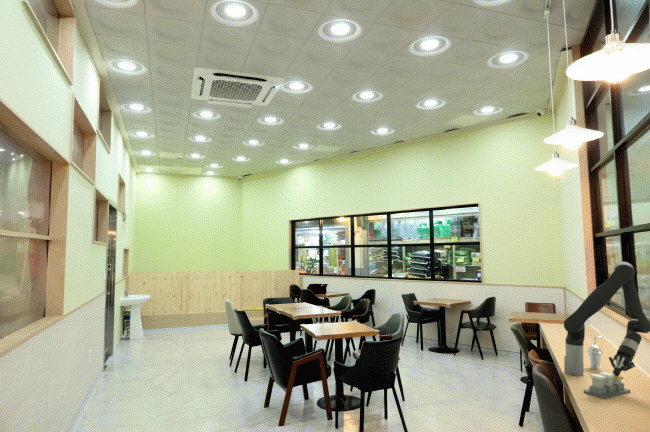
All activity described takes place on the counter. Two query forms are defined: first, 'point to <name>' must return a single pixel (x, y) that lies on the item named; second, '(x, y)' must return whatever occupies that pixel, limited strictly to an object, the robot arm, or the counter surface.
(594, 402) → the counter surface
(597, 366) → the cup with straw
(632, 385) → the counter surface
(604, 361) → the counter surface
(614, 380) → the amber key
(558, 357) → the counter surface
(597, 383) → the front key
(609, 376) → the middle key
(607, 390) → the keypad
